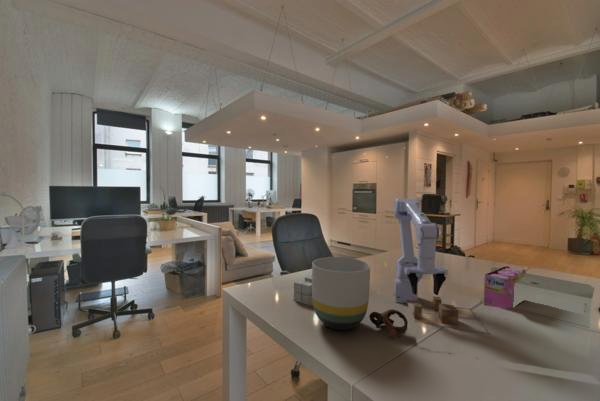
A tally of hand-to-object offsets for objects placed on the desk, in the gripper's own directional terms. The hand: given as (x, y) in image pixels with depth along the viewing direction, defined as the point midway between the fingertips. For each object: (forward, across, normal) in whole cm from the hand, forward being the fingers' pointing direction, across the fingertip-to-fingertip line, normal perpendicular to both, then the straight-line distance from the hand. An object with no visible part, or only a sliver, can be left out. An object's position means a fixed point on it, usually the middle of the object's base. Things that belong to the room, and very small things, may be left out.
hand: (425, 293), depth 99 cm
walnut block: (+8, +6, -4) cm, 11 cm away
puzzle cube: (+10, -40, +16) cm, 44 cm away
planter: (+10, -32, -6) cm, 33 cm away
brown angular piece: (+9, +2, -3) cm, 10 cm away
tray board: (+9, +10, 0) cm, 14 cm away
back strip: (+10, +12, +4) cm, 16 cm away
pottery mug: (+10, -16, -9) cm, 21 cm away
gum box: (+10, +41, +17) cm, 45 cm away
